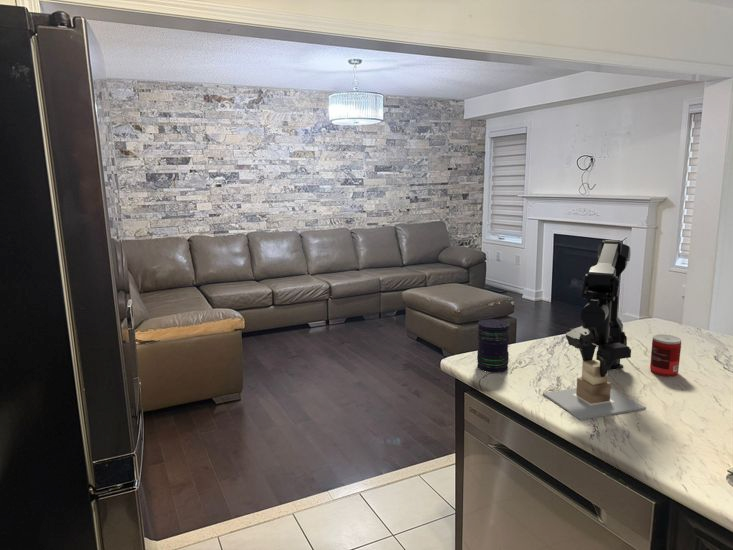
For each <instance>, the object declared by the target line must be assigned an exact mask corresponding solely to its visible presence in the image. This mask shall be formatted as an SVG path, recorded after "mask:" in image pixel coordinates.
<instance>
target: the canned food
mask: <svg viewBox="0 0 733 550" xmlns="http://www.w3.org/2000/svg"><path fill="white" fill-rule="evenodd" d="M681 349H682V339H681V338H680V337H677V336H676V335H675V336H674V335H671V334H664V333H663V334H662V333H661V334H660V333H659V334H655V335H653V336H652V341H651V351H650V353H651V354H650V365H649V370H650V371H651V372H652V373H653V374H655V375H657V374H658V375H657V376H661V375H662V377H675V376H677V375H678V373H679V368H680V358H681Z"/></svg>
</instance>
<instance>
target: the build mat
mask: <svg viewBox="0 0 733 550" xmlns="http://www.w3.org/2000/svg"><path fill="white" fill-rule="evenodd" d="M576 390H577V387H573V388H566V389H560V390H554V391H546V392H542V395H543V396H544V397H545V398H547V399H548V400H550V401H552V402H553V403H555V404H556V405H557V404H558V405H557V406H559V405H560V406H561V408H562V407H563V408H564V409H563V408H562V409H563V410H565V409H566V410H567V413H569V412H570V413H569V414H570V415H572V416H574V417H575V418H577V419H578V420H580V421H582V420H587V419H593V418H600V417H607V416H611V415H618V414H623V413H631V412H636V411H643V410H646V409H647V407H646V406H645V405H642V404H641V403H639V402H637V401H635V400H633V399H632V398H629V397H627V396H625V395H624V394H621V393H620V392H619V391H617V390H615V389H612V388H611V391H610V401H605V402H599V403H592V404H591V403H589V402H587V401H586V400H584V399H582V398H581V397H579V396H577V395H576ZM560 406H559V407H560ZM566 410H565V411H566Z"/></svg>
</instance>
